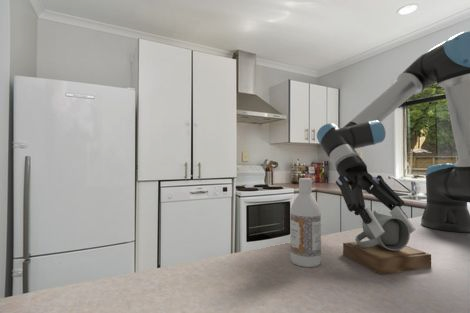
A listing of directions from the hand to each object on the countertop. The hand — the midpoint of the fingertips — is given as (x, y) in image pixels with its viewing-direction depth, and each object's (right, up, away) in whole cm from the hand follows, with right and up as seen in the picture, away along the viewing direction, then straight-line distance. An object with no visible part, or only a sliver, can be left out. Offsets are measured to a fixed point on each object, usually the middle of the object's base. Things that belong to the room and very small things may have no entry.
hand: (395, 233), depth 59 cm
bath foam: (-20, -8, +2) cm, 22 cm away
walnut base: (-1, -8, +3) cm, 8 cm away
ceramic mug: (-2, -4, +3) cm, 6 cm away
